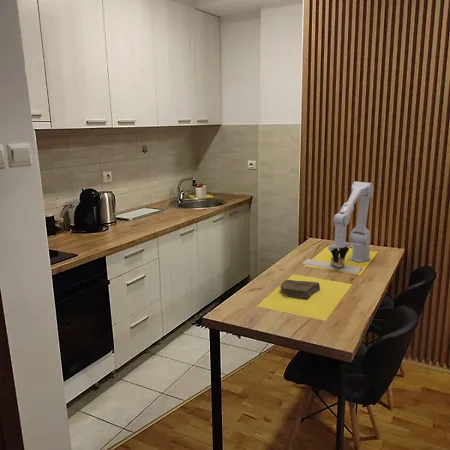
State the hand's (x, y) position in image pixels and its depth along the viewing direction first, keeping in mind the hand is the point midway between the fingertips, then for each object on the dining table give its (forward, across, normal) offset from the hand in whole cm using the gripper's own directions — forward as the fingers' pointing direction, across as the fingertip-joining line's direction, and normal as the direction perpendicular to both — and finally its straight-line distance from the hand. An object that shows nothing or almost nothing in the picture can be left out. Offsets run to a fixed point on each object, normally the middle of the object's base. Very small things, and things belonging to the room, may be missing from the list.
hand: (338, 261), depth 222 cm
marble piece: (+5, +39, +13) cm, 41 cm away
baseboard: (+5, +1, -5) cm, 7 cm away
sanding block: (+3, 0, -1) cm, 3 cm away
